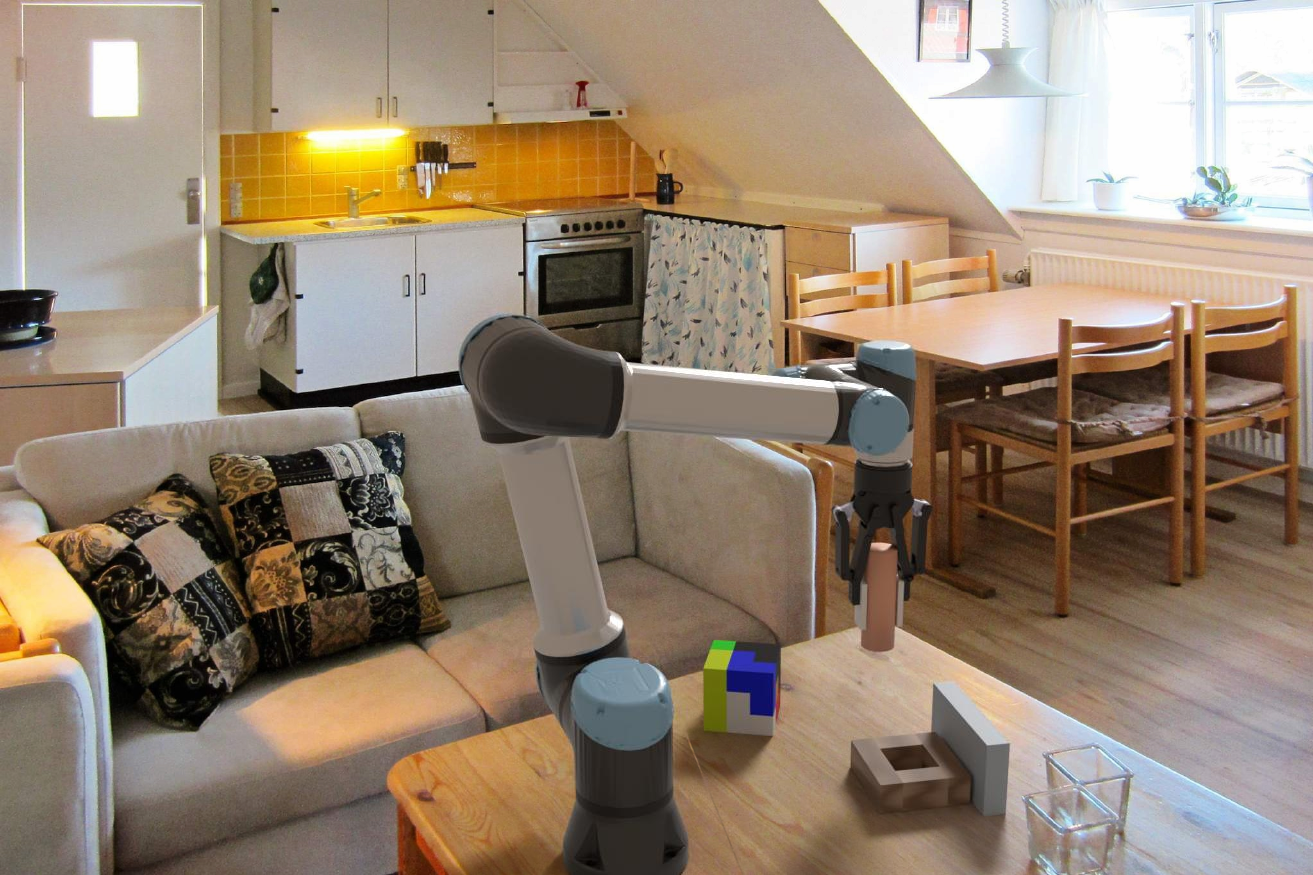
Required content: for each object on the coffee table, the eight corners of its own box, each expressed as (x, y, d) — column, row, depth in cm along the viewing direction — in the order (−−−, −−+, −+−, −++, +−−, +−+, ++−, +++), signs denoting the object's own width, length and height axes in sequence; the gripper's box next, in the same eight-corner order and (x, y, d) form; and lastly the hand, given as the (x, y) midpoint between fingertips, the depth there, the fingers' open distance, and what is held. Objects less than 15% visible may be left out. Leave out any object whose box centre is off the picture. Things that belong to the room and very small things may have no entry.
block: (879, 813, 163) (880, 785, 162) (850, 766, 175) (851, 740, 174) (969, 803, 165) (971, 775, 164) (934, 758, 176) (935, 731, 175)
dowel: (867, 653, 173) (870, 555, 170) (856, 639, 178) (859, 543, 174) (899, 650, 174) (902, 552, 171) (887, 637, 178) (890, 541, 175)
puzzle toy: (773, 737, 183) (773, 673, 181) (703, 732, 185) (703, 668, 183) (780, 706, 193) (780, 644, 190) (714, 701, 195) (714, 639, 192)
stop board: (983, 817, 162) (987, 745, 160) (930, 748, 179) (933, 682, 177) (1005, 814, 163) (1010, 743, 160) (950, 746, 180) (953, 680, 177)
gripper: (827, 471, 164) (824, 640, 170) (957, 462, 167) (949, 629, 173) (811, 455, 171) (808, 618, 177) (935, 448, 174) (929, 608, 180)
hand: (878, 623), depth 175 cm, fingers closed on dowel, 4 cm apart
